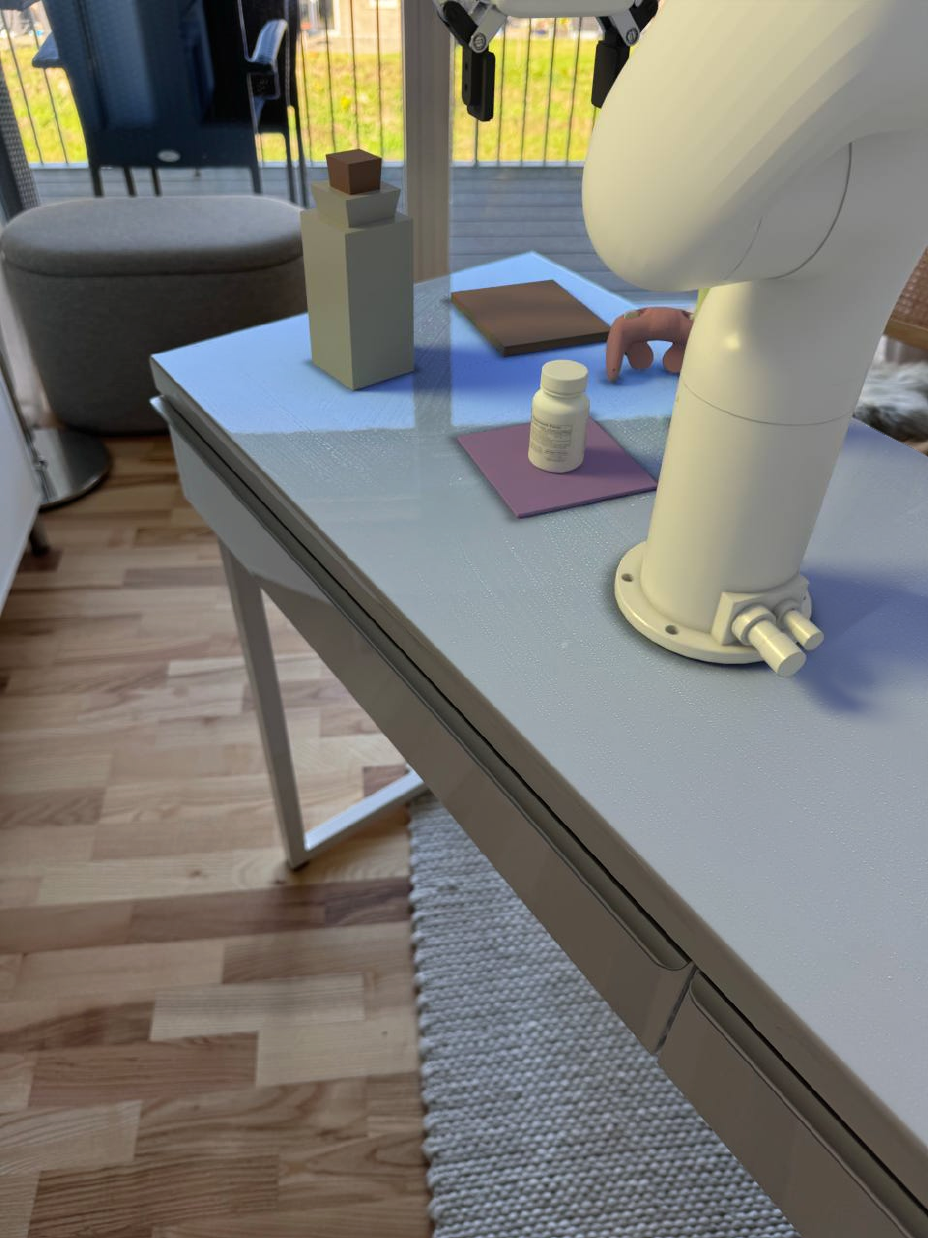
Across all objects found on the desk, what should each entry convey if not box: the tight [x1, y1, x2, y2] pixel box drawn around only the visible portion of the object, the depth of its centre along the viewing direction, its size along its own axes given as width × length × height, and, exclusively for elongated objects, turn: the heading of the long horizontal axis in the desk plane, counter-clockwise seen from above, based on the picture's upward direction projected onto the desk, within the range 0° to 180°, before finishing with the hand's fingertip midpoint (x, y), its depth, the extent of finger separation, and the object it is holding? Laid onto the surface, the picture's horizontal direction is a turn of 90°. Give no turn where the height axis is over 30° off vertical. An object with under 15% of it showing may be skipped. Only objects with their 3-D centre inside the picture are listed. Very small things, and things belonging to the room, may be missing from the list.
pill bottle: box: [528, 359, 591, 473], centre depth 70 cm, size 4×4×8 cm
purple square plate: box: [456, 415, 658, 519], centre depth 73 cm, size 12×12×1 cm
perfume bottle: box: [299, 148, 415, 392], centre depth 79 cm, size 7×7×18 cm
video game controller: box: [605, 306, 695, 383], centre depth 84 cm, size 10×5×7 cm, turn 84°
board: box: [450, 279, 612, 357], centre depth 94 cm, size 14×12×1 cm
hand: (543, 113), depth 64 cm, fingers open, 9 cm apart
